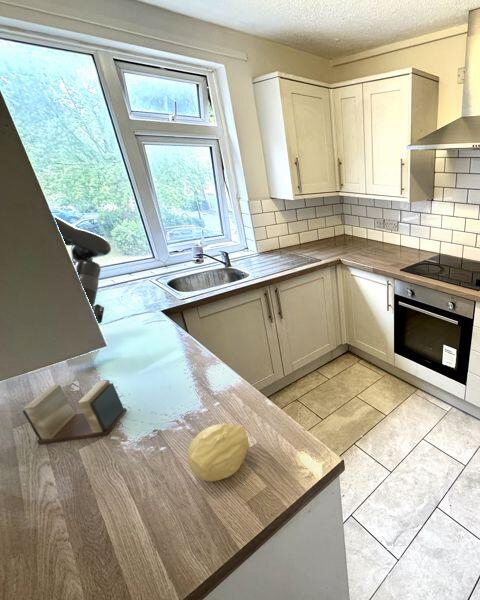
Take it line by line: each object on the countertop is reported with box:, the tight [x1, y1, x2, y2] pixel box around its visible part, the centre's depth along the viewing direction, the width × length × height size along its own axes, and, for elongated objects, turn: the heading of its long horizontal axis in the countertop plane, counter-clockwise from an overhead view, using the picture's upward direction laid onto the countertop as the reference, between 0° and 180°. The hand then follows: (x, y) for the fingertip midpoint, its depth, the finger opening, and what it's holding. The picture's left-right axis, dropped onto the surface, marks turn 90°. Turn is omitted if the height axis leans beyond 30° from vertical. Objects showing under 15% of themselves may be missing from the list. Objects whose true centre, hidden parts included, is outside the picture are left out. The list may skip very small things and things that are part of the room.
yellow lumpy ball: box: [187, 423, 250, 482], centre depth 73 cm, size 11×12×11 cm
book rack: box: [22, 379, 128, 445], centre depth 84 cm, size 15×9×11 cm, turn 101°
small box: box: [65, 349, 101, 368], centre depth 107 cm, size 8×6×13 cm
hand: (71, 337), depth 105 cm, fingers closed on small box, 7 cm apart
